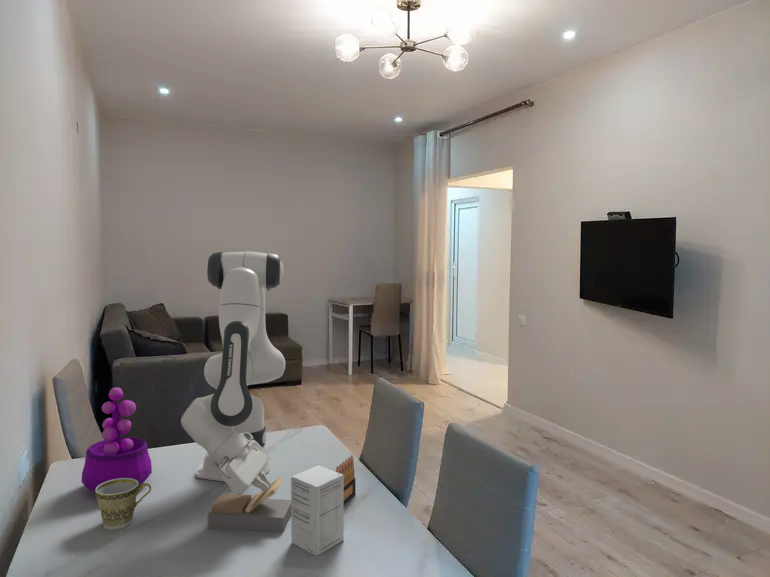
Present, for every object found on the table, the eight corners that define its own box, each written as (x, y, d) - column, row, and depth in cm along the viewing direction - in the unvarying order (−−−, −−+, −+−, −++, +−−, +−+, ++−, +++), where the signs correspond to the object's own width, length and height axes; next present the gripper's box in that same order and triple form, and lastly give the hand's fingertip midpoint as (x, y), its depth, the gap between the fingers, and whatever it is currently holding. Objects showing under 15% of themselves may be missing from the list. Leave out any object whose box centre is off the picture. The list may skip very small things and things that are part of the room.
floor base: (208, 528, 140) (207, 509, 140) (222, 509, 150) (221, 491, 150) (283, 531, 139) (283, 512, 139) (292, 512, 149) (292, 494, 149)
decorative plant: (146, 469, 176) (144, 377, 174) (158, 491, 161) (156, 390, 159) (79, 482, 166) (76, 384, 164) (84, 507, 150) (82, 399, 148)
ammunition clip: (338, 510, 151) (338, 467, 150) (332, 509, 152) (332, 466, 151) (355, 494, 161) (356, 454, 160) (350, 493, 161) (350, 453, 161)
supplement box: (318, 528, 141) (318, 464, 140) (344, 540, 135) (345, 473, 134) (289, 543, 134) (289, 475, 132) (316, 557, 128) (316, 486, 127)
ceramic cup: (96, 537, 135) (95, 497, 135) (96, 519, 144) (95, 482, 143) (153, 525, 141) (152, 487, 140) (150, 509, 150) (149, 473, 149)
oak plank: (247, 513, 140) (245, 509, 140) (257, 499, 148) (254, 495, 148) (275, 493, 140) (272, 489, 139) (282, 479, 147) (280, 476, 147)
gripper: (225, 457, 133) (265, 498, 133) (251, 430, 153) (286, 465, 153) (207, 475, 133) (247, 515, 133) (235, 445, 154) (270, 480, 154)
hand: (268, 488), depth 143 cm, fingers closed, pressing on oak plank
